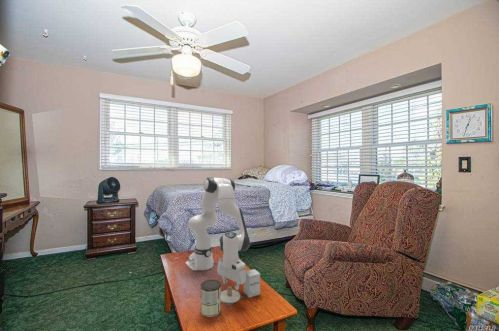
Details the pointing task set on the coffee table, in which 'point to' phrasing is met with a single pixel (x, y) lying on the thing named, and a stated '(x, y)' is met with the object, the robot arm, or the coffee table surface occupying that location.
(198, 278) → the coffee table surface
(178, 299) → the coffee table surface
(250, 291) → the supplement box
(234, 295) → the lid
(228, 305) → the mat
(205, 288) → the coffee can
